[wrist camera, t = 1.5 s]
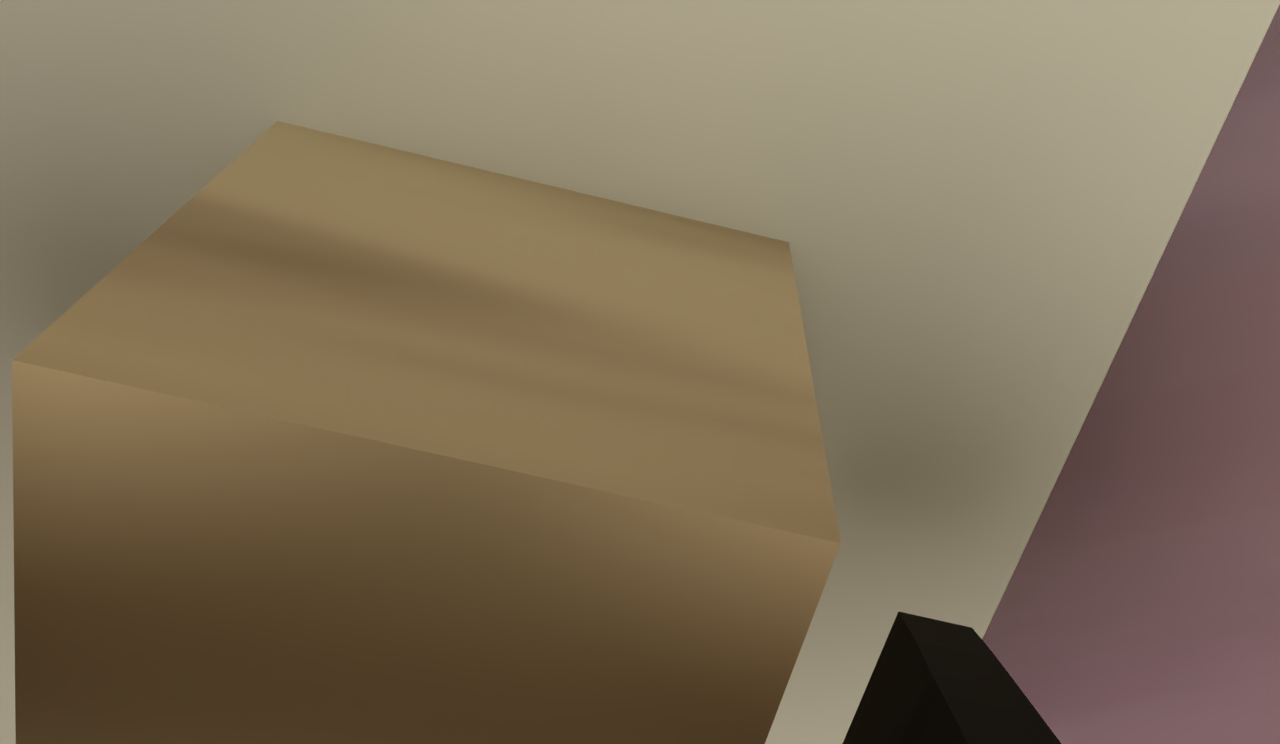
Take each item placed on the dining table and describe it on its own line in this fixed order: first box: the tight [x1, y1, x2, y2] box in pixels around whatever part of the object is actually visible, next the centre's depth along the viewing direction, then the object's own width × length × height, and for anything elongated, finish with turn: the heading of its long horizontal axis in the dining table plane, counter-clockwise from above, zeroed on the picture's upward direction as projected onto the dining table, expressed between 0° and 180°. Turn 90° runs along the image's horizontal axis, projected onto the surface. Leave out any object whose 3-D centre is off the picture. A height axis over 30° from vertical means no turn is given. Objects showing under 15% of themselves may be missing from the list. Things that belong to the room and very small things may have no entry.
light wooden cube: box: [12, 121, 841, 744], centre depth 11 cm, size 5×5×5 cm
